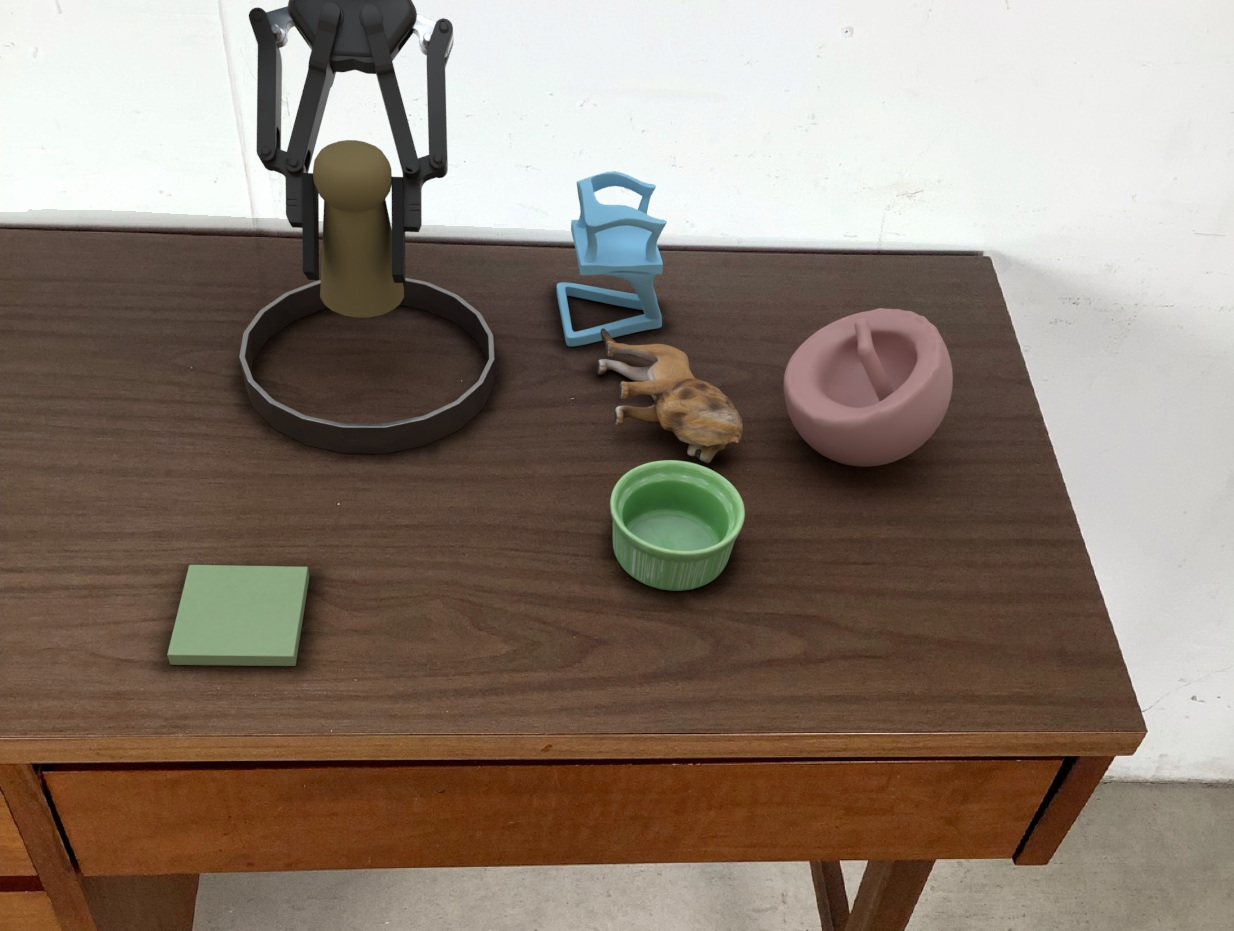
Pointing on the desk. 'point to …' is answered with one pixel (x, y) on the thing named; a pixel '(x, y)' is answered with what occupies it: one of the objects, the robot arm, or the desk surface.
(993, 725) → the desk surface
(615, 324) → the chair
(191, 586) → the green mat
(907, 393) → the mortar and pestle
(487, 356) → the ring
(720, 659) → the desk surface
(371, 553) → the desk surface
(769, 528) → the desk surface
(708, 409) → the lion figurine
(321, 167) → the olive pawn
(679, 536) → the ramekin
